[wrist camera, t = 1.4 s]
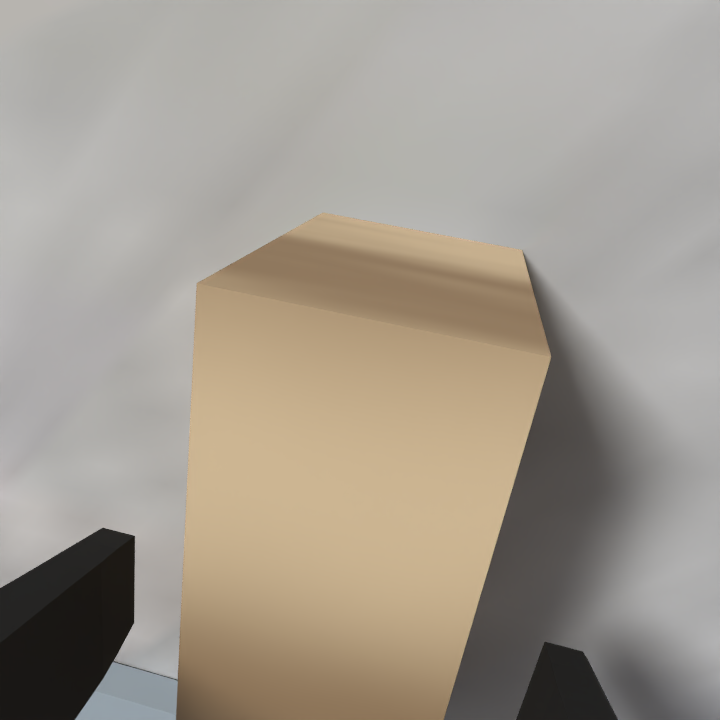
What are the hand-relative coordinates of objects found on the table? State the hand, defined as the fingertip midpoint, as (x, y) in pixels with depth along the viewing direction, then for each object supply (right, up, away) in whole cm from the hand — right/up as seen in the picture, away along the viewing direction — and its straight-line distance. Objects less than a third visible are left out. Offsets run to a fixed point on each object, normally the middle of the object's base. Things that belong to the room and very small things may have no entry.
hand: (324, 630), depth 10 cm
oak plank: (+1, +2, +4) cm, 5 cm away
